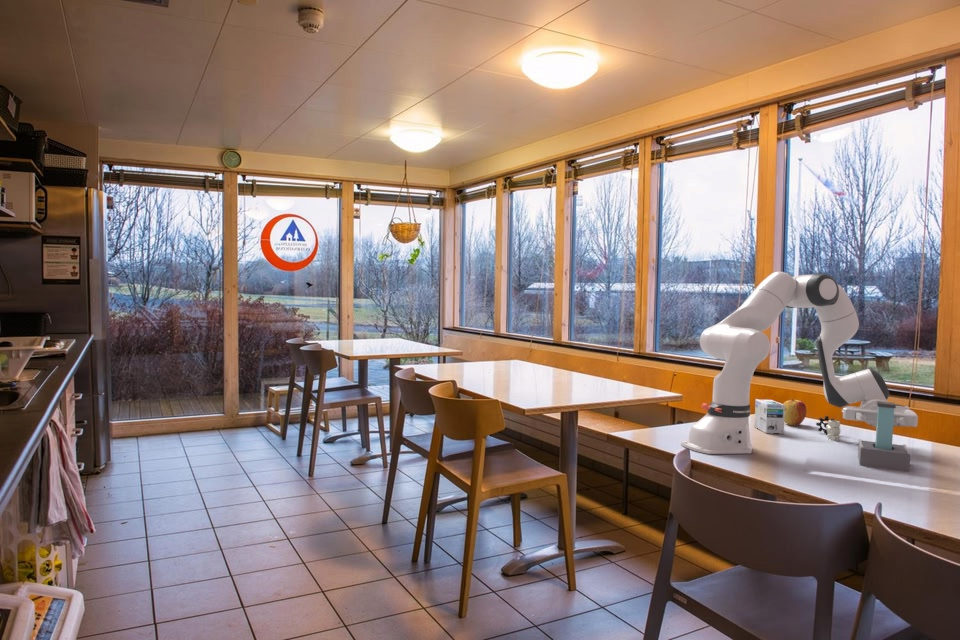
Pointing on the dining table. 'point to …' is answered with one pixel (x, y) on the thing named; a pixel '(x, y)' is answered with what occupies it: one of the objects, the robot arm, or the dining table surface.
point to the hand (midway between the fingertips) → (880, 420)
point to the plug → (884, 425)
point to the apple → (794, 412)
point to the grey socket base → (884, 456)
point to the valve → (830, 428)
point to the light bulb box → (769, 416)
